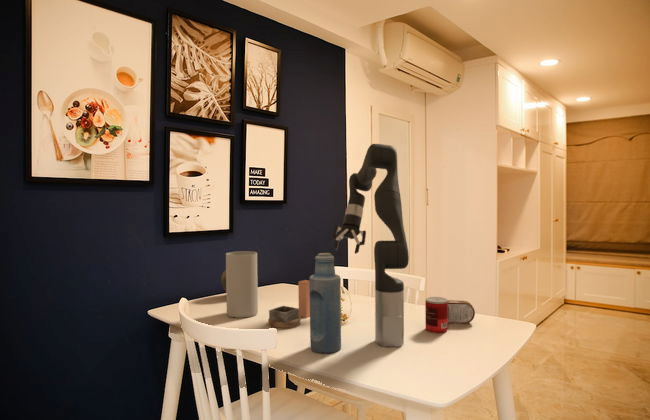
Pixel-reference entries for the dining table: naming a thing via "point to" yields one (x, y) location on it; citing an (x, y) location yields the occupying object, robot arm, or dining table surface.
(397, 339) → the robot arm
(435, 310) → the canned food
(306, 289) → the post
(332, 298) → the bottle
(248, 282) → the cylinder vase
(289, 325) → the block holder stand
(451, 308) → the tin
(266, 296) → the dining table surface
